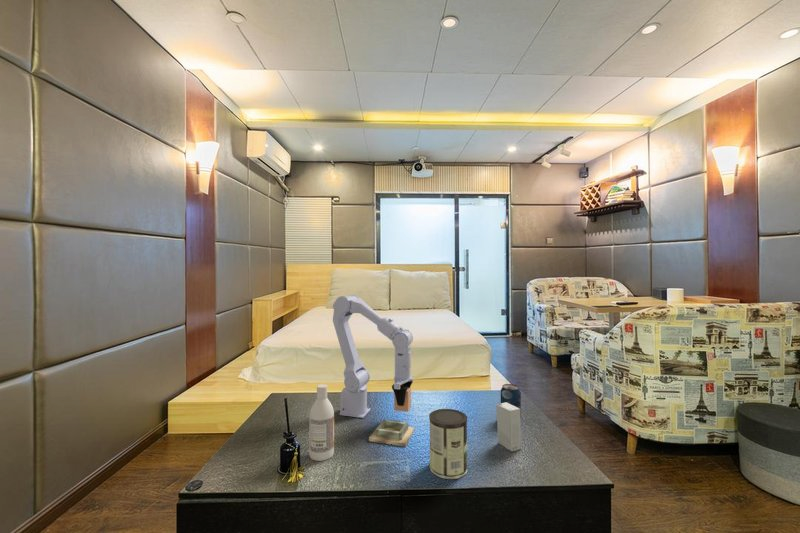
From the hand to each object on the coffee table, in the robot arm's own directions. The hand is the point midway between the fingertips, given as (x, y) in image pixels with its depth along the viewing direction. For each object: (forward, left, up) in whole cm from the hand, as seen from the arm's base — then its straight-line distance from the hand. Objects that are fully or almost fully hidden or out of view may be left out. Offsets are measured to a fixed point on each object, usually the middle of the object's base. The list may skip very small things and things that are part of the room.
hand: (402, 403), depth 123 cm
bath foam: (-16, -29, -6) cm, 34 cm away
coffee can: (+20, -25, -6) cm, 33 cm away
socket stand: (0, -12, -6) cm, 13 cm away
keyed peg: (0, 0, -2) cm, 2 cm away
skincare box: (+36, -8, -6) cm, 37 cm away
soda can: (+37, +11, -6) cm, 39 cm away
